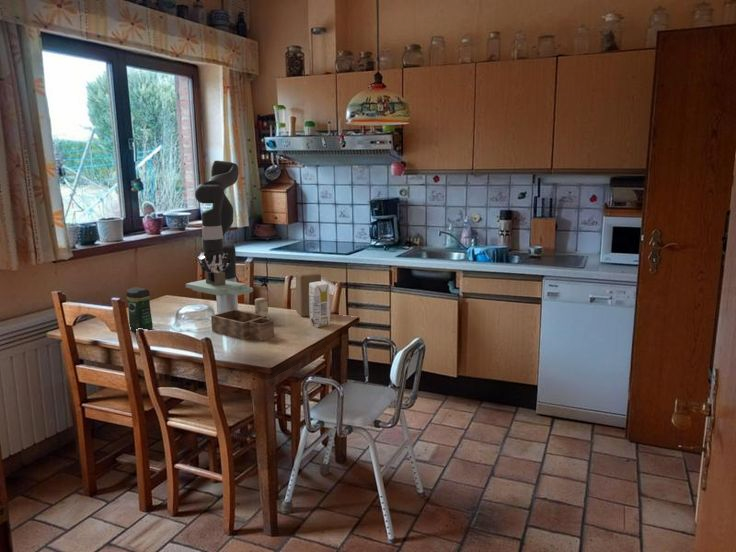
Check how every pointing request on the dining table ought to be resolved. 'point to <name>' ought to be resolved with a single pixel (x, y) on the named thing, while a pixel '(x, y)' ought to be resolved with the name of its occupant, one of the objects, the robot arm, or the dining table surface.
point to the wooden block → (304, 290)
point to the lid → (219, 285)
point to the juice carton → (319, 304)
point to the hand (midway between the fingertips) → (215, 281)
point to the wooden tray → (243, 325)
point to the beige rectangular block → (261, 306)
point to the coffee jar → (139, 308)
